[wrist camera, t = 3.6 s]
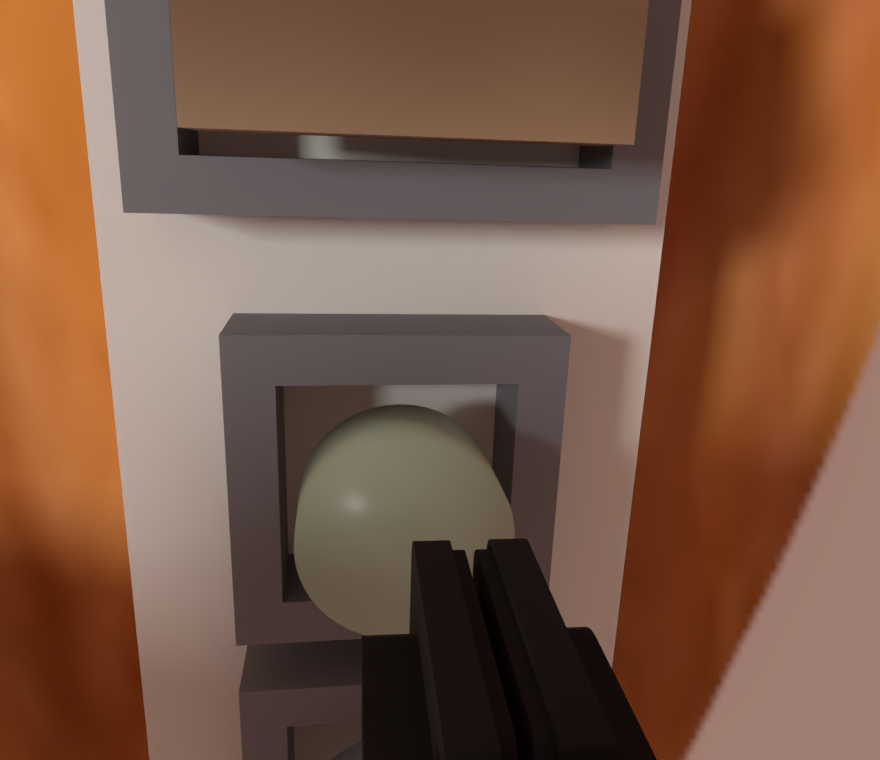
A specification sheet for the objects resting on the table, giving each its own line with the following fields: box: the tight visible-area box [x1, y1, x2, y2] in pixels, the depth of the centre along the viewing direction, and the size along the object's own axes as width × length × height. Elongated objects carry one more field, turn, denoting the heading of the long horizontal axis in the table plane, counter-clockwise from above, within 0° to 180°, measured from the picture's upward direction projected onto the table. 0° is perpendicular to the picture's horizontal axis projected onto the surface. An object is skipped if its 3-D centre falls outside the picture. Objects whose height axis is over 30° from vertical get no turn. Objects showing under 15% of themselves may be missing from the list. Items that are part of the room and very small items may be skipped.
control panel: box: [72, 0, 692, 760], centre depth 18 cm, size 26×12×5 cm, turn 178°
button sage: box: [294, 404, 515, 635], centre depth 14 cm, size 4×4×2 cm
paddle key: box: [169, 0, 649, 146], centre depth 12 cm, size 3×7×2 cm, turn 88°
